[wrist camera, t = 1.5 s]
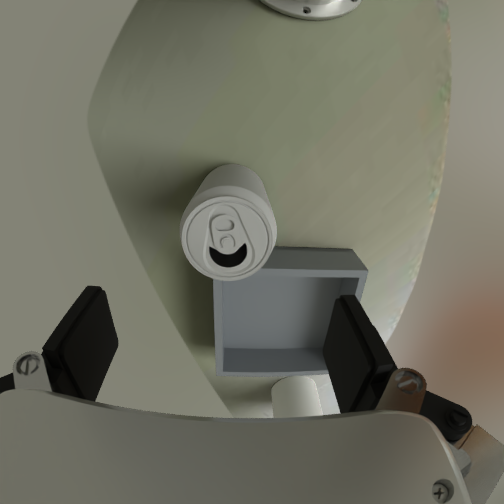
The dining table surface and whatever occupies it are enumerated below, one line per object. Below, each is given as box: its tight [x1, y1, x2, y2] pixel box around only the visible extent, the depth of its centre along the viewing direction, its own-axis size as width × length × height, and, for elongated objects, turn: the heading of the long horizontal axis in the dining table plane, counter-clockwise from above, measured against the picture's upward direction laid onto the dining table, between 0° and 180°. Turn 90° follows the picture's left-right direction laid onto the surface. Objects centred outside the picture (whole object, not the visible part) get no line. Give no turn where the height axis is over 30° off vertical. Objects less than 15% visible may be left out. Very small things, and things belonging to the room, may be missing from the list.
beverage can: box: [180, 164, 277, 281], centre depth 23 cm, size 6×6×12 cm
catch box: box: [213, 246, 368, 377], centre depth 32 cm, size 15×15×5 cm
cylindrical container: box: [271, 376, 323, 418], centre depth 30 cm, size 7×7×25 cm
